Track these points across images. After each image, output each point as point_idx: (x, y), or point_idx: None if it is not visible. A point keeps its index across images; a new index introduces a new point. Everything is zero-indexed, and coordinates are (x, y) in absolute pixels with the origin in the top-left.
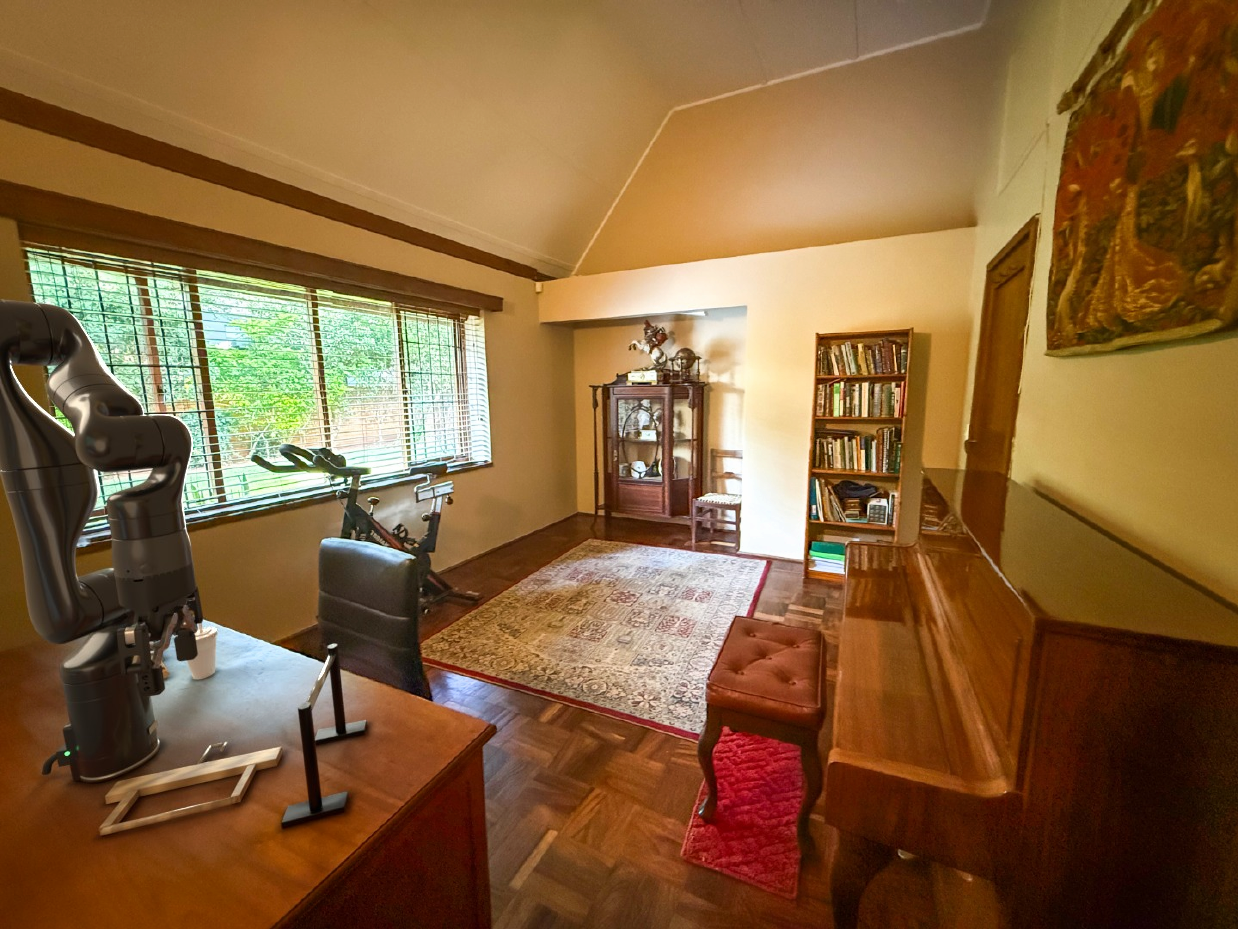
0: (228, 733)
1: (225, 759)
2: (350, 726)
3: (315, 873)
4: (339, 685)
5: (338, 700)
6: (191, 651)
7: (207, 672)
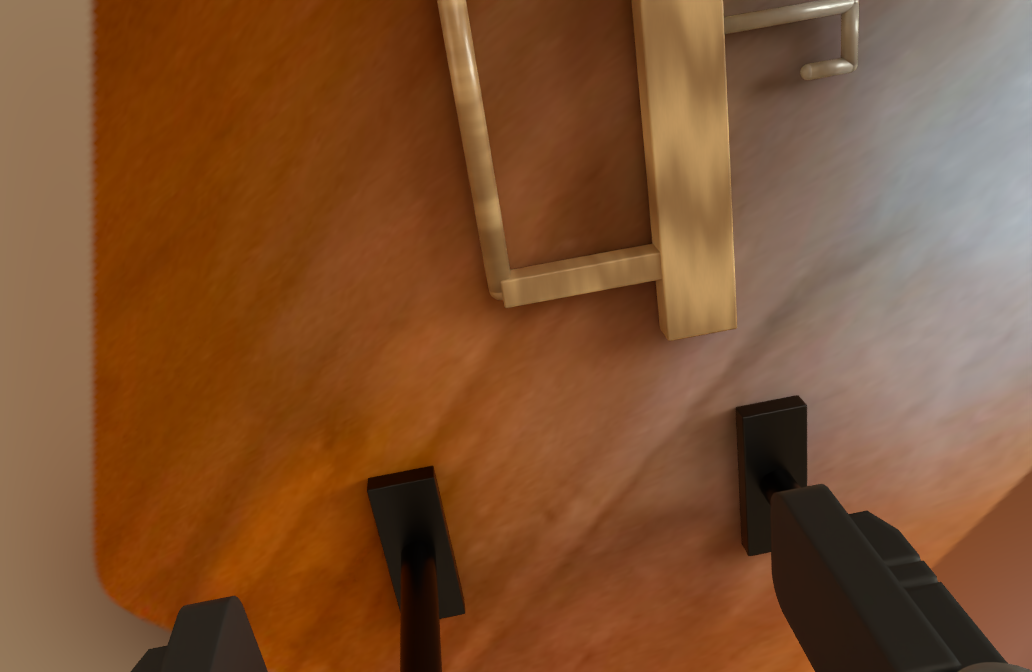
0: (945, 10)
1: (721, 144)
2: None
3: None
4: None
5: None
6: (808, 636)
7: None
